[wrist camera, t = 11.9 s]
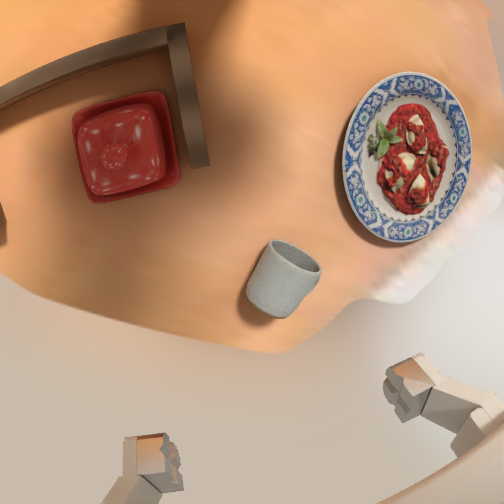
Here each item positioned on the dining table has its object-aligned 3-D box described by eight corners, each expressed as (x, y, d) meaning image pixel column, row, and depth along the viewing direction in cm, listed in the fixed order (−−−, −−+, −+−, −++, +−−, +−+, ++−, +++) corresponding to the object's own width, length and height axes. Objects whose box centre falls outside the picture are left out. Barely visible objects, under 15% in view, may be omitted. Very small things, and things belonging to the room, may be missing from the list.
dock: (-33, 114, 25) (-48, 116, 22) (183, 30, 29) (184, 22, 26) (-4, 224, 32) (-16, 234, 29) (207, 160, 36) (210, 165, 33)
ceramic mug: (236, 284, 44) (249, 318, 38) (262, 232, 42) (280, 259, 35) (299, 301, 48) (319, 333, 42) (325, 255, 46) (351, 283, 39)
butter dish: (166, 87, 32) (163, 81, 24) (182, 182, 37) (184, 203, 29) (72, 112, 30) (44, 115, 22) (92, 203, 35) (72, 229, 28)
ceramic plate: (480, 150, 44) (492, 154, 41) (405, 263, 50) (415, 271, 48) (399, 37, 33) (412, 35, 31) (297, 174, 40) (306, 179, 37)
